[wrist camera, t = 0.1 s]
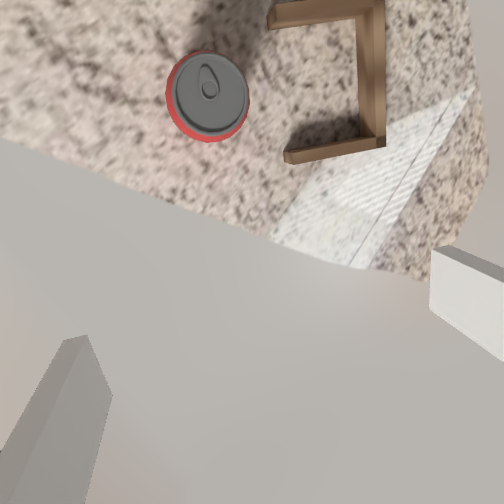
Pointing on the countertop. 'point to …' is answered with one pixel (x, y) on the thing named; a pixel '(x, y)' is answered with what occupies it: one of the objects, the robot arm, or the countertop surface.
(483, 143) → the countertop surface
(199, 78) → the beer can
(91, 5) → the countertop surface
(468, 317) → the robot arm
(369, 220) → the countertop surface
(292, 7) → the walnut bay
